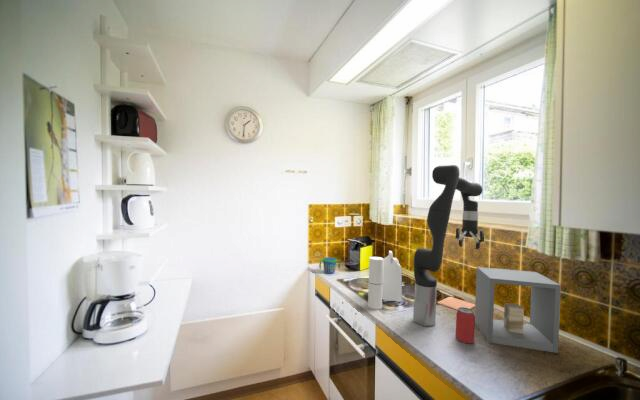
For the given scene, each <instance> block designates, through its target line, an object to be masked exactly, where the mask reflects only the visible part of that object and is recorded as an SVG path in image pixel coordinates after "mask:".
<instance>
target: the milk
mask: <svg viewBox="0 0 640 400" xmlns="http://www.w3.org/2000/svg"><path fill="white" fill-rule="evenodd" d="M383 259H384V262H383V295H382V299H386V300H395V301H402V302H403V300H402V299H403V293H402V290H403V288H402V286H403V283H402V278H403V275H402V272H403V271H402V270H403V269H402V266H401V265H400V261H399V259H398V258H397V257H394V254H393V251H392V250H388V255H387V256H385V257H384V258H383Z"/></svg>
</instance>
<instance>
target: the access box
mask: <svg viewBox="0 0 640 400" xmlns="http://www.w3.org/2000/svg"><path fill="white" fill-rule="evenodd" d="M475 276H476V277H475V278H476V279H475V280H476V281H475V297H474V298H475V299H474V301H475V303H474V304H475V307H474V315H475V325H476V327H477V328H478V330H479V331H480V333H481V334H482V335H483V337H484V339H485V340H486V342H487V343H491V344H498V345H505V346H511V347H515V348H516V347H517V348H524V349H531V350H536V351H543V352H549V353H555V354H556V353H557V354H558V353H559V340H560V339H559V338H560V337H559V335H560V313H561V291H562V290H561V288H562V285H561V284H560V283H557V282H556V281H554V280H552V279H550V278H548V277H547V276H545V275H543V274H541V273H539V272H537V271H530V270H529V271H528V270H517V269H506V268H493V267H492V268H491V267H482V266H476V275H475ZM495 284H504V285H514V286H523V287H531V288H530V310H529V323H525V322H523V334H522V333H515V332H509V331H508V330H507V329H506V328H505V327H504V319H503V320H502V319H495V318H494V309H495V307H494V306H495V304H494V303H495Z"/></svg>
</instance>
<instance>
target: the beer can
mask: <svg viewBox="0 0 640 400" xmlns="http://www.w3.org/2000/svg"><path fill="white" fill-rule="evenodd" d="M455 315H456V317H455V318H456V319H455V321H456V322H455V338H456V339H457V340H458V341H459V342H461V343H465V344H473V343H474V341H475V333H476V332H475V330H476V329H475V327H476V326H475V325H476V323H475V311H474V310H473V309H468V308H464V307H460V308H458V310H456V313H455Z"/></svg>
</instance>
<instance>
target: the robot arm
mask: <svg viewBox="0 0 640 400" xmlns="http://www.w3.org/2000/svg"><path fill="white" fill-rule="evenodd" d="M460 174H461V172H460V167H459V166H458V165H457V164H445V165H438V166H435V167H434V168H433V170H432V173H431V176H432V177H431V178H432V180H433V182H434V183H435V184H438V185H442V186H444V188H443V190H442V192H441V194H440V195H438V197H437V198H436V199H435V200H434V201H433V202H432V204H431V205H430V206H429V208H428V213H427V218H426V222H427V223H426V224H427V226H428V229H429V232H430V234H431V237H432V248H431V249H430V248H429V249H428V248H423V247H419V248H417V249H416V250H415V252H414V255H413V276H414V300H413V314H412V316H413V317H412V322H414V323H416V324H419V325H421V326H423V327H432V326H434V325H436V322H437V321H436V318H437V317H436V316H437V313H436V312H437V292H438V291H437V289H438V288H437V286H438V285H437V284H438V282H437V281H438V280H437V279H436V277H434V276H433V275H431V274H430V273H429V271H431V272H434V273H437V272H438V271H439V270H440V269H441V266H442V263H443V256H444V248H445V247H444V246H445V240H446V235H447V234H446V233H447V230H448V229H447V228H448V225H449V220H450V215H451V211H452V204H453V200H454V197H455V193H456V190H457V191H459V192H460V195H461V198H462V202H463V203H462V204H463V206H462V207H463V208H462V209H463V211H462V221H461V222H462V224H461V225H462V226H461V228H460V227H458V228H457V227H456V228H455V239H457V240H458V246H459V247H461V248H462V247H463V244H464V243H463V242H464V241H463V239H465V238H473V239H474V240H475V250H480V248H481V243H483V242H485V231H484V230H478V225H479V223H478V222H479V213H478V209H479V206H478V205H479V202H478V201H476V200H472V199H471V198H470V197H479V196H481V195H482V193H483V187H482V185H481V184H480V183H477V182H476V181H475V182H474V181H470V180H468V179H467V178H465V177H463V176H460ZM461 232H462V234H461ZM460 234H461V235H460ZM478 235H479V236H478Z"/></svg>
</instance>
